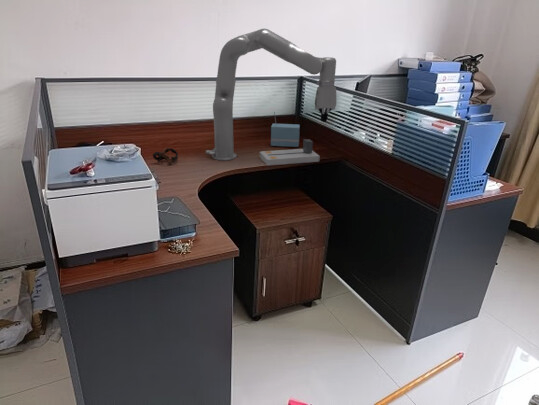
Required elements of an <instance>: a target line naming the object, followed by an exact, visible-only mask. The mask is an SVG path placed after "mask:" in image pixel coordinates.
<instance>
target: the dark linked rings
mask: <svg viewBox="0 0 539 405" xmlns="http://www.w3.org/2000/svg"><path fill="white" fill-rule="evenodd" d="M168 152H171V153H173V154H175V156H171V158H170V156H169V155H168V154H167V153H168ZM152 157H153V159H154V160H155V161H157V162H158V163H161V161H163V160H167V165H168V166H171V165H172V164H174V163H175V162H177V161H178V159H179V153H178V151H176V149H174V148H170V147H165V148H164V149H163V150H161V151H155V152H154V153H152Z"/></svg>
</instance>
